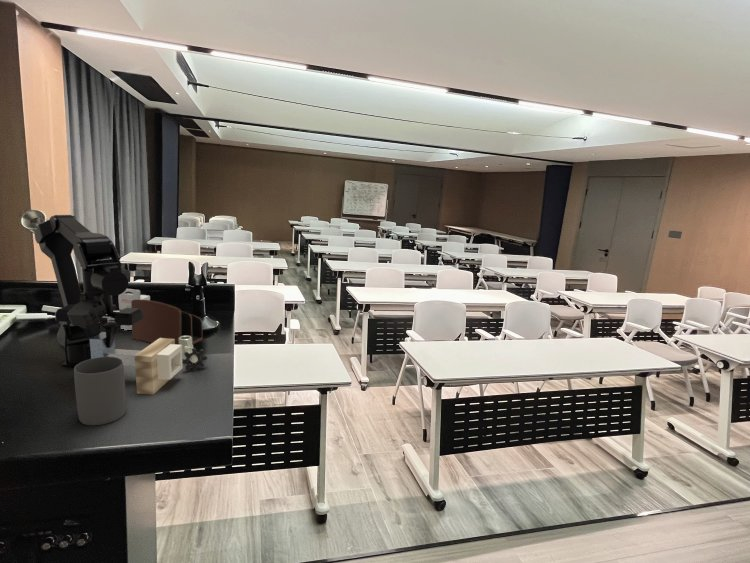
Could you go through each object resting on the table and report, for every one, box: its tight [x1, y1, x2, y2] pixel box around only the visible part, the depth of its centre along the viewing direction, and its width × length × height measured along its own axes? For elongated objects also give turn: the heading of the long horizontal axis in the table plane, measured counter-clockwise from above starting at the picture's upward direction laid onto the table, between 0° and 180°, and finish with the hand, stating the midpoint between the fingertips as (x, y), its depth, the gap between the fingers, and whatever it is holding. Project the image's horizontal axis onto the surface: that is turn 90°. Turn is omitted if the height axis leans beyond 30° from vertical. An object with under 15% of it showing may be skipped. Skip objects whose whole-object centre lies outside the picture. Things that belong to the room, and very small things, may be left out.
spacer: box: [157, 344, 184, 381], centre depth 110 cm, size 3×7×6 cm, turn 179°
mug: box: [73, 357, 127, 426], centre depth 96 cm, size 14×9×12 cm
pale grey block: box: [90, 331, 141, 367], centre depth 110 cm, size 17×5×9 cm, turn 89°
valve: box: [178, 336, 208, 372], centre depth 123 cm, size 7×7×12 cm
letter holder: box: [131, 299, 204, 345], centre depth 139 cm, size 10×20×14 cm, turn 70°
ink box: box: [118, 288, 151, 331], centre depth 146 cm, size 9×5×15 cm, turn 81°
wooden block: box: [134, 338, 175, 396], centre depth 110 cm, size 4×12×10 cm, turn 179°
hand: (102, 346), depth 109 cm, fingers open, 3 cm apart
